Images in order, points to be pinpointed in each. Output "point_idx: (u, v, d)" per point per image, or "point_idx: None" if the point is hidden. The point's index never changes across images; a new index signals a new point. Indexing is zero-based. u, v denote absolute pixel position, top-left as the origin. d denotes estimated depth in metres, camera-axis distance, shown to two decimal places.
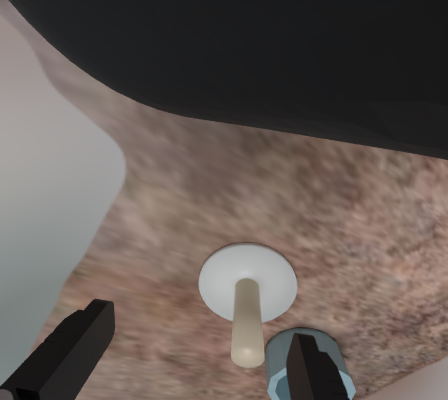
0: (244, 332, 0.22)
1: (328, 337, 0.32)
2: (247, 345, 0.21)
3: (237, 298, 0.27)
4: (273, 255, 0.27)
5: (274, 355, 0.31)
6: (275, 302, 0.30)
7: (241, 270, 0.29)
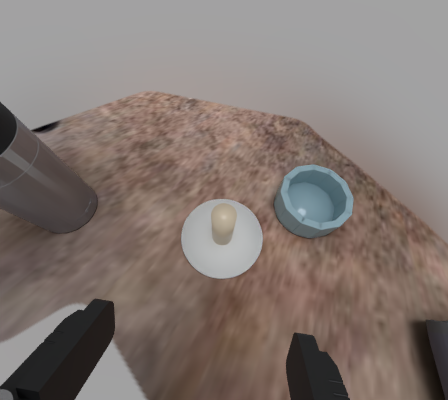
0: None
1: None
2: (211, 212, 0.28)
3: (213, 235, 0.33)
4: (195, 210, 0.37)
5: (290, 222, 0.35)
6: (240, 216, 0.37)
7: (203, 235, 0.36)
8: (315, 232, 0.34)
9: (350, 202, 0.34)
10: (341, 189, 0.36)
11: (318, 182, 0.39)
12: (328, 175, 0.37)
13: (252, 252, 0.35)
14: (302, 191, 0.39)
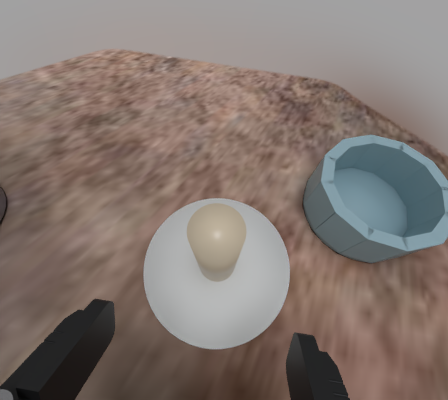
0: None
1: None
2: (187, 224, 0.12)
3: (200, 268, 0.17)
4: (171, 218, 0.22)
5: (339, 237, 0.19)
6: (248, 227, 0.22)
7: (184, 264, 0.20)
8: (391, 255, 0.18)
9: None
10: (427, 175, 0.20)
11: (375, 167, 0.24)
12: (399, 152, 0.21)
13: (274, 293, 0.19)
14: (348, 183, 0.24)
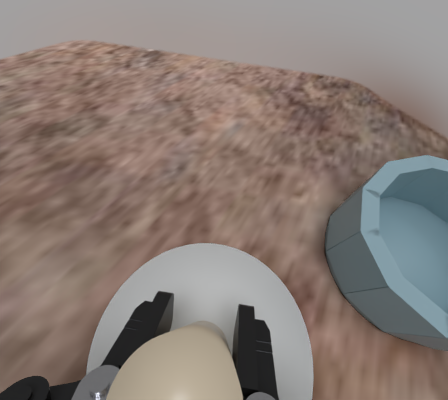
0: None
1: (340, 205, 0.18)
2: (107, 395, 0.05)
3: None
4: (137, 276, 0.15)
5: (388, 316, 0.13)
6: (250, 291, 0.15)
7: None
8: None
9: None
10: None
11: (426, 198, 0.17)
12: None
13: None
14: (388, 220, 0.17)
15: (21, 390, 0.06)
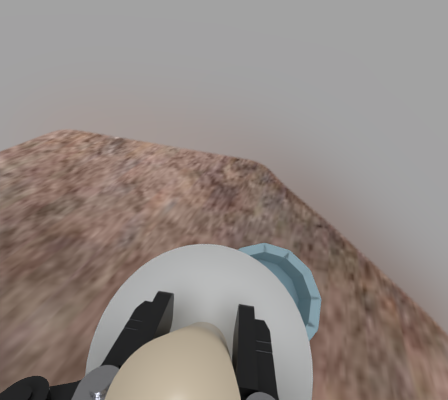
0: None
1: None
2: (105, 398, 0.05)
3: None
4: (136, 277, 0.15)
5: None
6: (249, 292, 0.15)
7: None
8: None
9: (316, 308, 0.23)
10: (304, 282, 0.24)
11: (275, 262, 0.28)
12: (286, 259, 0.25)
13: None
14: None
15: (21, 389, 0.06)
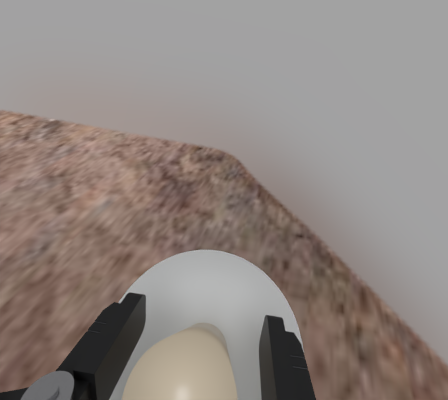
0: None
1: None
2: (125, 387, 0.06)
3: None
4: (142, 280, 0.16)
5: None
6: (247, 294, 0.16)
7: None
8: None
9: None
10: None
11: None
12: None
13: None
14: None
15: None
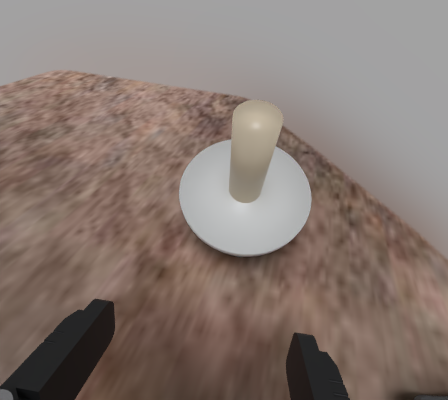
0: (232, 132, 0.15)
1: None
2: (233, 113, 0.14)
3: (233, 180, 0.19)
4: (202, 154, 0.24)
5: None
6: (272, 161, 0.24)
7: (215, 189, 0.22)
8: None
9: None
10: None
11: None
12: None
13: (297, 212, 0.21)
14: None
15: None
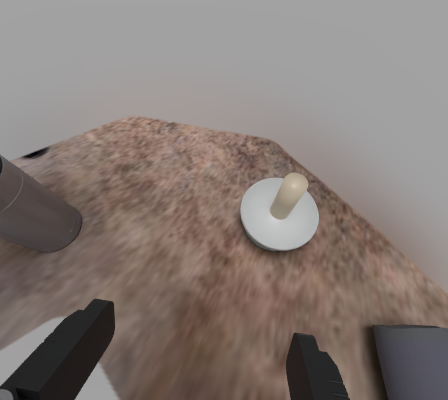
0: (281, 188, 0.31)
1: None
2: (283, 180, 0.29)
3: (276, 208, 0.34)
4: (251, 188, 0.39)
5: None
6: None
7: (262, 211, 0.37)
8: None
9: None
10: None
11: None
12: None
13: (310, 225, 0.36)
14: None
15: None
